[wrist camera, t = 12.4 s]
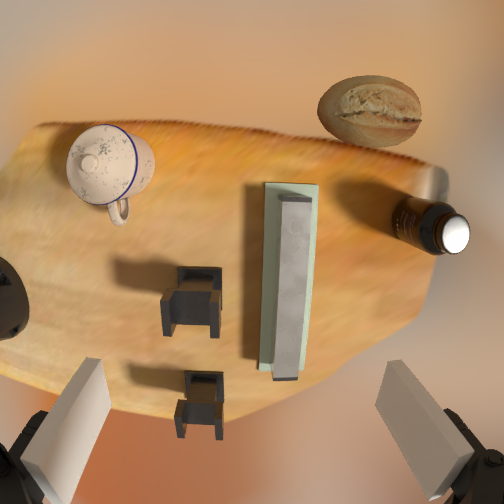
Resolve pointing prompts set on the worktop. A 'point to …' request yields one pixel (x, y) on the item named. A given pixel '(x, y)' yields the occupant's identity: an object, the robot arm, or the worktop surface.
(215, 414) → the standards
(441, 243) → the supplement bottle
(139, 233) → the worktop surface
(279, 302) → the rail
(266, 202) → the mat
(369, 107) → the bread roll
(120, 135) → the teacup with lid
